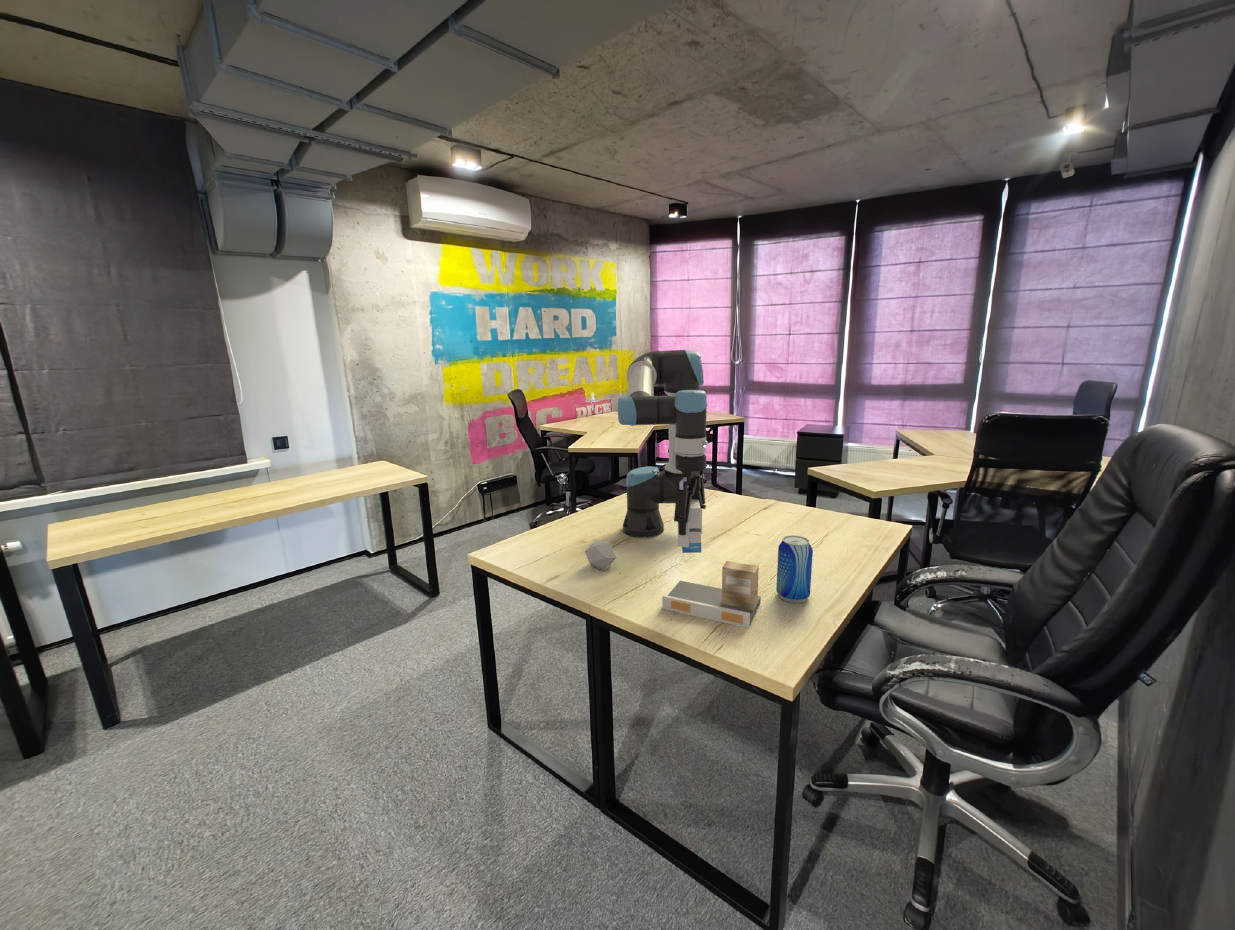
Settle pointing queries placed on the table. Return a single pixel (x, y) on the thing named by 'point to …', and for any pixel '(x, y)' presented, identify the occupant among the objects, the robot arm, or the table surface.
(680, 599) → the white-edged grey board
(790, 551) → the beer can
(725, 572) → the brown cardboard box
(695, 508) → the ink box
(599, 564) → the die
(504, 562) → the table surface
